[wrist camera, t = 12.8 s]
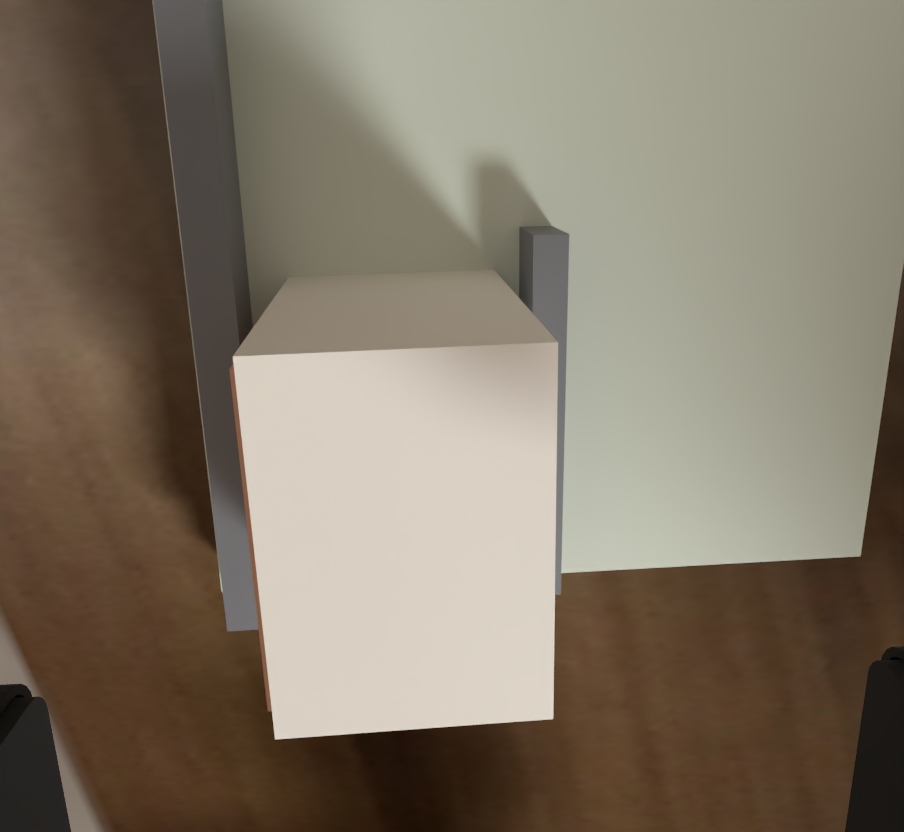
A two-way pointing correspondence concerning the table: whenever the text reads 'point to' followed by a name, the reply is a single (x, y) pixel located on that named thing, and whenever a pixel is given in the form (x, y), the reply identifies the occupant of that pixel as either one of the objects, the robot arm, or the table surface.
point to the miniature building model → (575, 235)
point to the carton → (400, 501)
